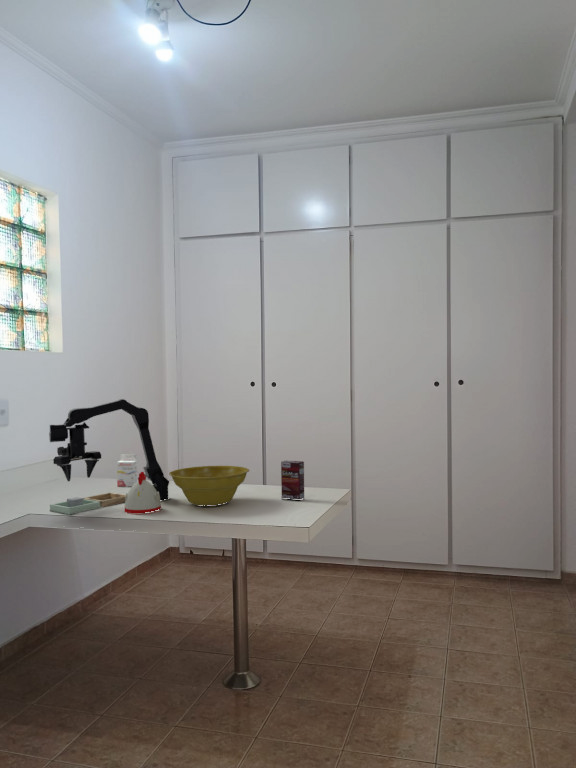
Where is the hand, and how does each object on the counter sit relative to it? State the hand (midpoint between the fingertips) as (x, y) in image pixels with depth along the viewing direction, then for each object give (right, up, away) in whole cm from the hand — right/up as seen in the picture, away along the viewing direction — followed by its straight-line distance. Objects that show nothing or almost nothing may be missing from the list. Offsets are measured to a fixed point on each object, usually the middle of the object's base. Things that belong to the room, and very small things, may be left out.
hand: (78, 479), depth 264 cm
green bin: (-1, -12, -2) cm, 12 cm away
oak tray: (+8, -11, +10) cm, 17 cm away
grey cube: (-1, -11, -1) cm, 12 cm away
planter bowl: (+52, -11, +5) cm, 53 cm away
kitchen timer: (+27, -12, -5) cm, 30 cm away
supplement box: (+85, -10, +9) cm, 86 cm away
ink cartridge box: (+7, -10, +50) cm, 52 cm away
